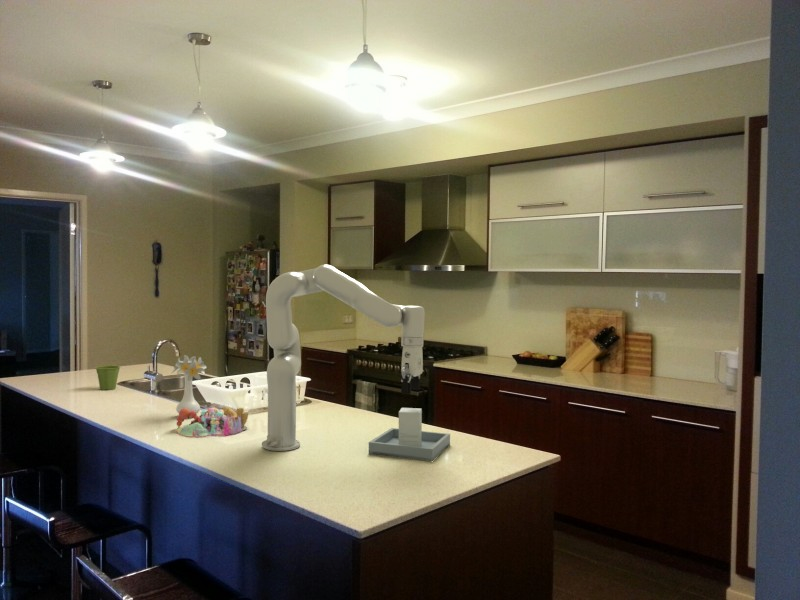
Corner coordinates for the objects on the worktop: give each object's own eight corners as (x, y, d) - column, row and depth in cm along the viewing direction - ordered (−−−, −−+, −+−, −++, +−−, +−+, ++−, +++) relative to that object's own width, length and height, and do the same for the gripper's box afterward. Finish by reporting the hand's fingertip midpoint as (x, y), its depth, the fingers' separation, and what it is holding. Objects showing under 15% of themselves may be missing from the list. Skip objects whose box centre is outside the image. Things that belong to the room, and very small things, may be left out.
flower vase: (183, 422, 248) (183, 359, 247) (165, 414, 261) (165, 355, 261) (214, 418, 256) (215, 357, 255) (195, 410, 270) (196, 353, 269)
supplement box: (421, 444, 218) (422, 408, 217) (419, 449, 210) (420, 412, 210) (400, 443, 219) (401, 407, 218) (397, 448, 211) (398, 411, 211)
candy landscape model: (222, 420, 254) (222, 398, 254) (259, 430, 239) (259, 406, 239) (165, 431, 234) (165, 407, 234) (202, 442, 220) (202, 416, 219)
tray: (432, 461, 200) (432, 449, 200) (368, 454, 208) (368, 442, 208) (449, 445, 221) (450, 433, 221) (391, 438, 228) (391, 427, 228)
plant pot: (125, 387, 324) (125, 365, 323) (111, 391, 312) (111, 369, 311) (104, 386, 325) (104, 365, 325) (89, 390, 313) (89, 368, 313)
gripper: (415, 344, 204) (413, 397, 204) (430, 340, 220) (428, 389, 221) (393, 343, 206) (391, 395, 207) (409, 339, 223) (408, 387, 223)
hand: (410, 392), depth 214 cm, fingers open, 9 cm apart
